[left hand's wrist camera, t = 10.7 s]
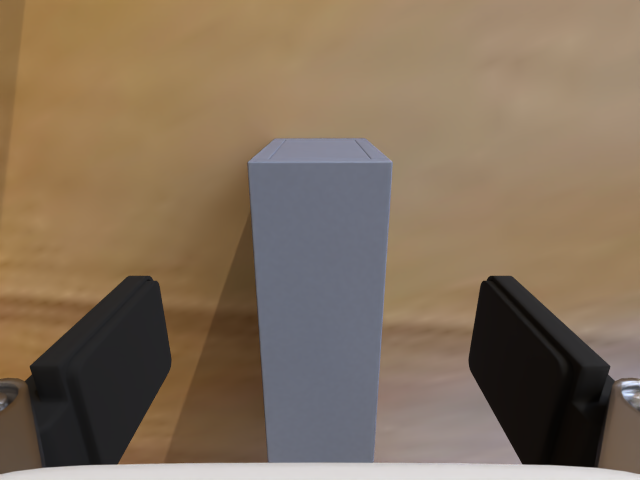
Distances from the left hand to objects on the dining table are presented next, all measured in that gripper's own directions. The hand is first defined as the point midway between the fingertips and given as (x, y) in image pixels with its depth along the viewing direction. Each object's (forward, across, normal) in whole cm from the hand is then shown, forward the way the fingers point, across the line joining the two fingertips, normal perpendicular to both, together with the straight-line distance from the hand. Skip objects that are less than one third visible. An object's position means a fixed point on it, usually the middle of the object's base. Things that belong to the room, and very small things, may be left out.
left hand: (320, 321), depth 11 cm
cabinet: (+17, 0, -6) cm, 18 cm away
